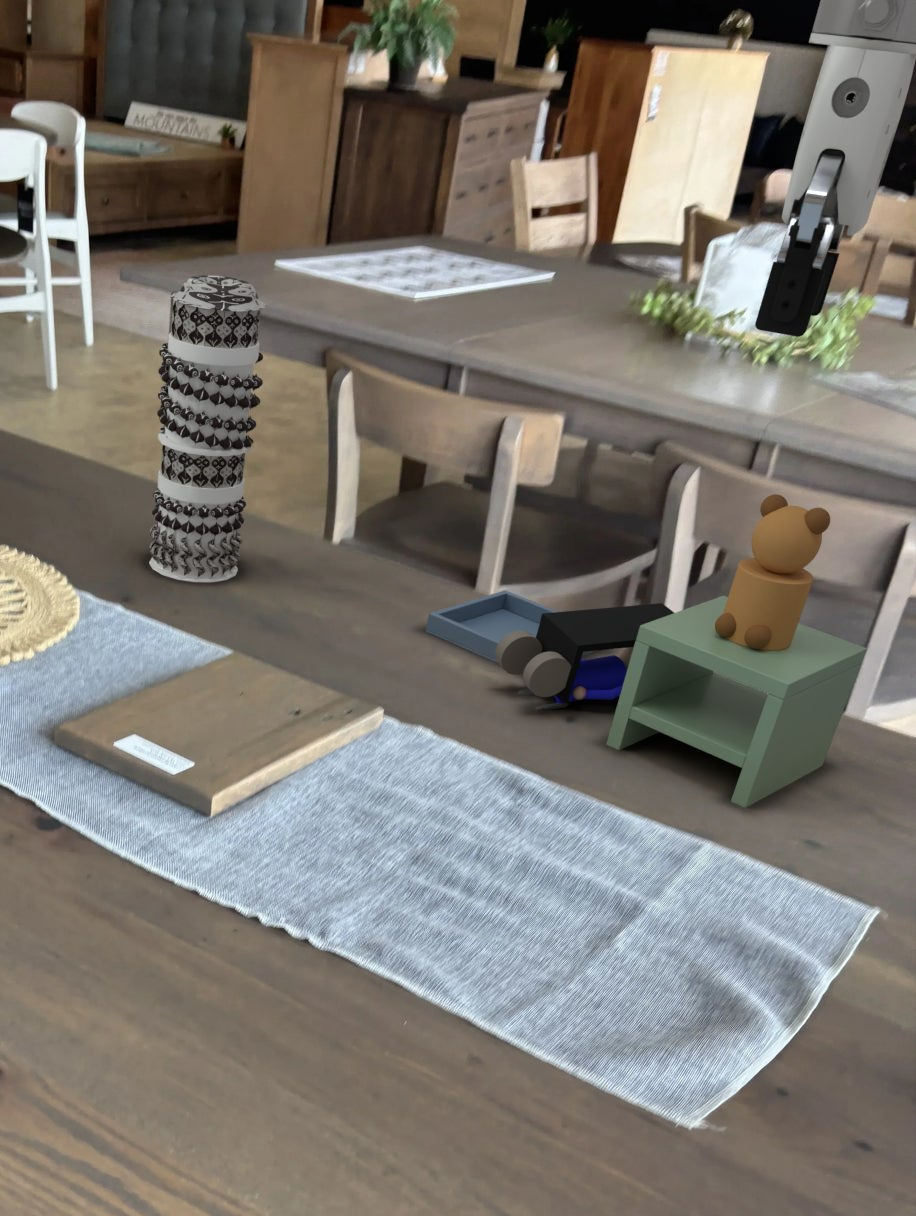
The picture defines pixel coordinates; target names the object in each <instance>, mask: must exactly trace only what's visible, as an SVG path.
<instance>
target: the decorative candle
mask: <svg viewBox="0 0 916 1216" xmlns="http://www.w3.org/2000/svg"><path fill="white" fill-rule="evenodd" d="M170 297H171V298H172V300H173V301H172V313H171V326H170V330H171V331H170V332H169V333H168V340H167V343H162V345H161V348H160V349H159V351H158V354H159V356H160V358H162V362H161V366H159V367H158V369H157V373H158V375H160V379H161V381H162V382H164V383H165V384H162V385H161V387H160V391H159V392H158V393H157V398H158V399H159V400H160V408H159V409H158V410H157V412H156V414H157V417H159V418H158V420H159V421H158V422H160V424H162V425H161V427H160V431H159V432H158V435H157V439H158V441H159V442H160V444H161V445H162V447H161V459H160V460H161V462H160V469H159V471H158V476H157V488H156V489H155V491H153V493H152V497H153V499H154V502H155V503H156V505H155V506H154V508H153V509H152V511H151V514H152V516H153V518H154V520H155V521H156V522H155V523H154V524H153V526H151V528H150V530H149V536H150V537H151V538H152V542H151V543H150V544H149V547H148V552H149V554H150V555H151V558H150V560H149V562H148V563H149V566H150V567H151V569H152V570H153V571H155V572H157V573H158V574H160V575H161V576H165V577H167V578H170V579H175V580H177V581H183V582H191V583H217V582H222V581H227V580H229V579H232V578H233V577H236V575H237V574H238V570H239V568H238V567H237V565H238V564H239V561H240V560H241V554H240V553H239V549H240V547H241V544H243V538H242V537H241V532H240V531H239V529H241V528H242V525H244V523H245V519H244V518H243V514H242V512H243V511H244V509H245V508H246V506H247V501H246V500H245V498H244V496H243V495H244V491H245V482H246V478H245V477H244V469H245V464H246V453H248V452H250V451H251V448H252V446H253V444H254V443H255V441H254V439H253V438H252V437H250V435H248V433H249V432H251V431H253V430H254V429H255V428H256V427H257V422H256V420H255V419H254V418H252V416H251V415H249V414H250V410H251V409H252V410H253V409H254V408H257V407H258V406H259V405H260V404H261V399H260V397H259V396H257V395H256V393H255V391H256V390H257V389H260V387H262V386H263V384H264V380H263V379H262V378H261V377H260V376H259V375H258V374H257V372H256V373H255V374H254V367H255V366H256V365H257V364H258V363H261V362H262V361H263V359H264V356H263V353H262V352H260V341H259V332H260V328H261V327H260V325H261V313H262V310H263V309H265V308H266V306H267V304H266V303H264V301H262V300H260V298H259V296H258V293H257V291H256V288H255V287H254V286H253V284H251V283H250V282H248V281H245V280H243V279H241V278H235V277H229V276H221V275H208V274H207V275H205V274H203V275H195V276H191V277H189V278H188V279H187V280H186V281H185V282H184V283H183V285H182V286H181V288H180V289H179V291H177V292H173V294H172V295H170ZM253 392H254V393H253Z"/></svg>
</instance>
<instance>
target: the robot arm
mask: <svg viewBox="0 0 916 1216" xmlns="http://www.w3.org/2000/svg"><path fill="white" fill-rule="evenodd" d="M817 8H818V9H817V13H816V16H815V20H814V23H813V26H812V30H811V33H810V36H809V40H808V43H809V44H815V45H824V46H825V45H826V46H827V47H826V51H825V54H824V57H823V60H822V64H821V68H820V70H819V74H818V76H817V82H816V84H815V87H814V91H813V94H812V98H811V101H810V104H809V107H808V112H807V115H806V119H805V121H804V124H803V125H804V126H803V129H802V132H801V136H800V140H799V144H798V148H797V151H796V155H795V160H794V163H793V167H792V170H791V175H790V179H789V183H788V188H787V191H786V194H785V200H784V203H783V207H782V213H781V220H782V222H783V223H784V224H785V225H786V227H787V229H786V230H785V231H786V232H785V234H784V237H783V240H782V243H781V245H780V248H779V250H778V254H777V258H776V261H773V262H772V266H771V268H770V271H769V276H768V279H767V282H766V286H765V288H764V293H763V296H762V298H761V299H762V300H761V303H760V306H759V310H758V313H757V315H756V319H755V324H754V326H755V329H756V330H758V331H763V332H768V333H774V334H780V335H784V336H785V335H786V336H792V337H796V338H797V337H802V336H804V335H805V333H806V332H807V330H808V327H809V324H810V320H811V318H812V317H816V316H818V315H819V314H821V312H822V310H823V307H824V304H825V302H826V301H825V300H826V297H827V294H828V292H829V288H830V285H831V282H832V280H833V279H832V278H833V275H834V272H835V270H836V266H837V264H838V260H839V257H840V253H839V252H838V249H839V247H840V244H841V240H842V238H843V234H844V230H845V226H848V227H847V231H846V236H849V237H852V236H853V235H855V234H857V233H859V232H860V231H861V230H862V229H863V228H864V227H865V226H866V225H867V223H868V221H869V217H870V215H871V212H872V208H873V205H874V201H875V198H876V195H877V192H878V188H879V186H880V182H881V180H882V176H883V173H884V170H885V166H886V164H887V160H888V157H889V154H890V151H891V148H892V145H893V142H894V138H895V135H896V132H897V129H898V125H899V123H900V120H901V117H902V113H903V109H904V106H905V102H906V99H907V95H908V92H909V88H910V84H911V81H912V76H913V73H914V68H915V64H916V0H820V1H819V6H818V7H817Z"/></svg>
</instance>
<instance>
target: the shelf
mask: <svg viewBox="0 0 916 1216" xmlns="http://www.w3.org/2000/svg"><path fill="white" fill-rule="evenodd" d="M727 599H728V596H726V595H721V596H718V597H716V598H713V599H710V600H707V601H705V602H702V603H699V604H696V605H693V606H690V607H687V608H685V609H682V610H679V611H676V612H674V614H671V615H668V616H665V617H662V618H660V619H657V620H654V621H651V622H649V623H646V624H643V625H641V626H640V628H639V632H638V635H637V639H636V641H635V645H634V648H633V652H632V655H631V659H630V662H629V666H628V669H627V673H626V676H625V680H624V684H623V687H622V691H621V694H620V696H619V698H618V702H617V704H616V708H615V712H614V716H613V718H612V722H611V726H610V729H609V733H608V736H607V740H606V743H605V744H606V746H609V747H611V748H612V749H615V750H617V751H621V750H623V749H625V748H627V747H629V746H632V745H635V744H637V743H639V742H641V741H643V740H645V739H647V738H650V737H652V736H655V735H657V734H659V733H661V734H664V735H665V736H668V737H671V738H672V739H675V740H677V741H679V742H682V743H684V744H687V745H689V746H691V747H693V748H696V749H697V750H701V751H702V752H704V753H707V754H709V755H712V756H714V757H716V758H718V759H720V760H723V761H724V762H727V763H728V764H729V763H730V764H732V765H734V766H737V767H738V768H741V771H740V774H739V776H738V779H737V782H736V785H735V788H734V791H733V794H732V797H731V800H730V802H731V803H734V804H736V805H738V806H740V807H742V808H745V809H746V808H748V807H750V806H752V805H754V804H755V803H757V802H759V801H761V800H762V799H764V798H766V797H768V796H770V795H772V794H773V793H776V792H777V791H779V790H781V789H783V788H785V787H786V786H789V785H790V784H792V783H795V781H798V780H799V779H801V778H803V777H805V776H808V775H809V774H810V773H812V772H814V771H816V770H818V769H820V768H822V767H823V765H824V764H825V763H824V762H825V760H826V758H827V755H828V752H829V750H830V747H831V744H832V741H833V739H834V737H835V733H836V731H837V729H838V726H839V724H840V721H841V719H842V716H843V714H844V711H845V708H846V705H847V703H848V700H849V697H850V695H851V692H852V690H853V687H854V684H855V682H856V679H857V677H858V674H859V671H860V669H861V667H862V663H863V661H864V658H865V656H866V653H867V650H868V648H867V647H864V646H862V645H860V644H856V643H854V642H850V641H848V640H846V639H843V638H840V637H837V636H835V635H832V634H829V633H826V632H824V631H821V630H818V629H815V628H813V627H810V626H808V625H804V624H802V623H800V622H798V625H797V628H796V631H795V634H794V637H793V639H792V642H791V645H790V646H789V647H788V648H786V649H783V650H760V649H752V648H749V647H746V646H742V645H739V644H737V643H734V642H732V641H730V640H728V639H726V638H723V637H721V636H719V635H718V634H717V632H716V630H715V623H716V620H717V619H718V617H719V616H721V615H722V614H723V611H724V608H725V605H726V602H727Z"/></svg>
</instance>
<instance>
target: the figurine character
mask: <svg viewBox="0 0 916 1216" xmlns="http://www.w3.org/2000/svg"><path fill="white" fill-rule="evenodd" d="M674 613H675V612H674V611H673V610H672V609H670V608H669V607H668V606H667V605H665V604H664V603H662V602H659V603H648V604H636V605H635V604H634V605H624V606H613V607H612V606H611V607H602V608H601V607H600V608H589V609H578V610H566V611H558V612H553V613H542V615H541V621H540V624H539V628H538V632H537V635H536V637H534V636H533V635H532V634H531V633H530V632H528V631H525V630H517V631H514V632H511V633H509V634H507V635H506V636H505V637H504V638H502V640H501V641H500V642H499V643H498V645H497V647H496V650H495V659H496V661H497V664H498V665H499V666H500V667H501V668H502V669H503V670H504V672H506V673H508V674H510V675H515V676H517V675H522V681H523V683H524V685H525V687H527V688H523V689H520V690H519V691H518V692H517V694H518V695H521V696H537V697H540V698H550V697H553V698H555V699H556V700H555V702H554V703H548V704H542V705H538V706H536V707H535V710H537V711H551V710H558V709H564V708H567V707H568V706H570V702H571V703H572V702H576V701H581V700H606V701H607V700H608V701H612V700H614V699H616V698H617V697H620V694H621V691H622V687H623V684H624V680H625V676H626V673H627V669H628V666H629V662H630V659H631V655H632V652H633V648H634V645H635V641H636V639H637V635H638V632H639V628H640V626H641V625H643V624H646V623H649V622H651V621H654V620H657V619H660V618H662V617H665V616H668V615H671V614H674ZM617 649H623V650H622V651H621V652H620V653H619V655H615V654H613V655H612V654H611V655H606V656H601V657H595V658H589V659H588V658H587V659H585V658H584V659H583V656H582V654H583V652H587V651H595V652H598V651H606V650H617ZM597 650H598V651H597Z"/></svg>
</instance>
